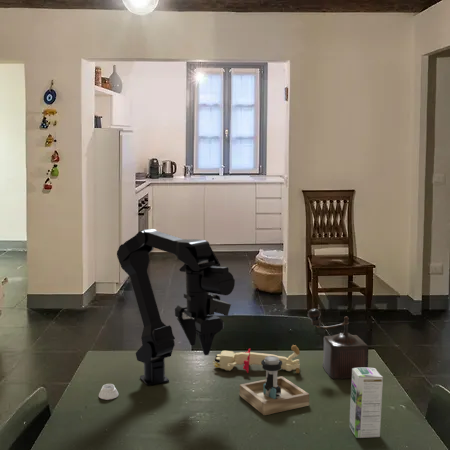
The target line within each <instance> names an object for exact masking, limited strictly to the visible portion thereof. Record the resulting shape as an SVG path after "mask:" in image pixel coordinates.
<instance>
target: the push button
mask: <svg viewBox="0 0 450 450" xmlns="http://www.w3.org/2000/svg"><path fill="white" fill-rule="evenodd" d="M276 356H277V355H276ZM276 356H267V357H265V359H264V360H262V361H261V364H262V365H261V366H262V369H263V370H264V371H265V379H266V383H265V384H263V393H264V394H266V396H267V397H268V396H269V397H271V398H273V399H276V398H281V397H280V396H282V394H281V388H280V387H279V386H278V382H277V377H278V371H280V370H282V368H281V365H282V361H281V360H279V358H278V357H276Z"/></svg>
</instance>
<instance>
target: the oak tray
mask: <svg viewBox="0 0 450 450" xmlns="http://www.w3.org/2000/svg"><path fill="white" fill-rule="evenodd" d="M277 382H278V386H279V387H280V388H281V394H282V396H280V397H281V398H276V399H273V398H271V397H269V396H268V397H267V396H266V394H264V393H263V384H265V383H266V378H265V379H261V380H257V381H251V382H246V383H241V384H239V397H241V398H242V399H243V400H244V401H246V402H247V403H248V404H250V405H251V406H252V407H253V408H254V409H256V411H258V412H259V413H260V414H262V415H263V416H267V415H268V416H269V415H271V414H276V413H280V412H282V413H283V412H285V411H290V410H294V409H299V408H303V407H307V406H310V393H309V392H307V391H305V390H304V389H302V388H301V387H299V386H298V385H296V384H295V383H293V382H292V381H290V380H289V379H287V378H285V377H284V376H277Z"/></svg>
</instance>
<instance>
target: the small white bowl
mask: <svg viewBox="0 0 450 450" xmlns="http://www.w3.org/2000/svg"><path fill="white" fill-rule="evenodd" d="M115 386H116V385H114V384H113V383H106V384H105V383H104V384H103V385H102V387H101V389H100V391H99V393H98V398H100V399H101V400H105V401H106V400H107V401H109V400H114V399H117V398H118V397H119V391H118V390H117V388H116V387H115Z"/></svg>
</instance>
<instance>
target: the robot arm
mask: <svg viewBox="0 0 450 450" xmlns="http://www.w3.org/2000/svg"><path fill="white" fill-rule="evenodd" d="M154 249H157V250H160V251H163V252H166V253H169V254H172V255H174V256H176V258H177V260H178V261H180V262H181V263H183V264H182V266H181V267H180V268H179V272H181V273H185V292H186V293H183V298H185V300H186V304H185V303H183V304H178V305H177V306H176V307H175V308H174V316H175V317H177V318H176V319H177V321H178V323H179V325H180V327H181V329H182V330H183V332H184V334H185V336H186V339H187V340H188V343H189V344H190V346H195V345H196V338H198V339H197V340H198V342H199V345H200V347H201V350H202V353H203V355H204V356H209V354H210V351H211V348H212V346H213V342H214V338H215V336H216V335H217V334H218V333H220V332H221V331H222V330H224V329H225V321H224V320H223V319H222V318H221V317H219V316H218V315H216V314H221V315H223V316H226V317H228V316H229V313H230V309H231V307H232V304H231V303H229V302H227V301H225V300H221V296H228V295H231V294H232V292H233V290H234V288H235V284H236V283H235V281H236V280H235V279H234V275H233V274H232V273H231V272H229V266H221V263H220V262H219V259H218V258H217V256H216V254H215V253H214V250H213V249H212V247H211V245H210V242H209V241H208V240H206V239H197V238H196V239H195V238H194V239H193V238H191V239H189V238H188V239H187V238H181V237H179V236H178V237H177V236H176V235H175V236H174V235H171V234H168V233H165V232H161V231H158V230H157V229H156V228H155V229H154V228H146V229H141V230H140V231H138V232H137V233H136V234H135V235H134V236H132V237H131V238H130V239H128V240H126V241H124V242H123V243H122V244H121V245H119V247H118V250H117V251H116V256H117V259H118V262H119V265H120V268H121V269H122V270H123V272H125V273H126V274H127V275H128V276H129V278H130V282H131V285H132V289H133V291H134V292H133V293H134V296H135V299H136V304H137V307H138V310H139V314H140V316H141V321H142V324H143V329H142V333H141V338H140V340H141V343H142V345H141V346H140V348H138V350H137V351H136V352H135V356H136V360H137V361H138V362H141V363H143V375H140V376H139V378H140V380H141V381H143V383H144V384H145V385H146V386H152V385H157V384H163V383H168V382H170V379H169V378H168V377H167V376H166V374H165V373H166V372H165V370H166V368H165V364H166V363H165V359H166V358H170V357H172V354H173V350H174V348H175V346H176V345H175V340H176V337H175V336H174V333H173V328H172V326H171V325H170V324H168V325H166V324H165V323H164V322H163V321H162V319H161V315H160V311H159V308H158V304H157V300H156V298H155V294H154V290H153V286H152V283H151V280H150V277H149V273H148V271H149V266H150V265H149V264H150V262H151V260H150V253H152V251H153V250H154ZM220 295H221V296H220ZM215 313H216V314H215Z"/></svg>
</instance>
